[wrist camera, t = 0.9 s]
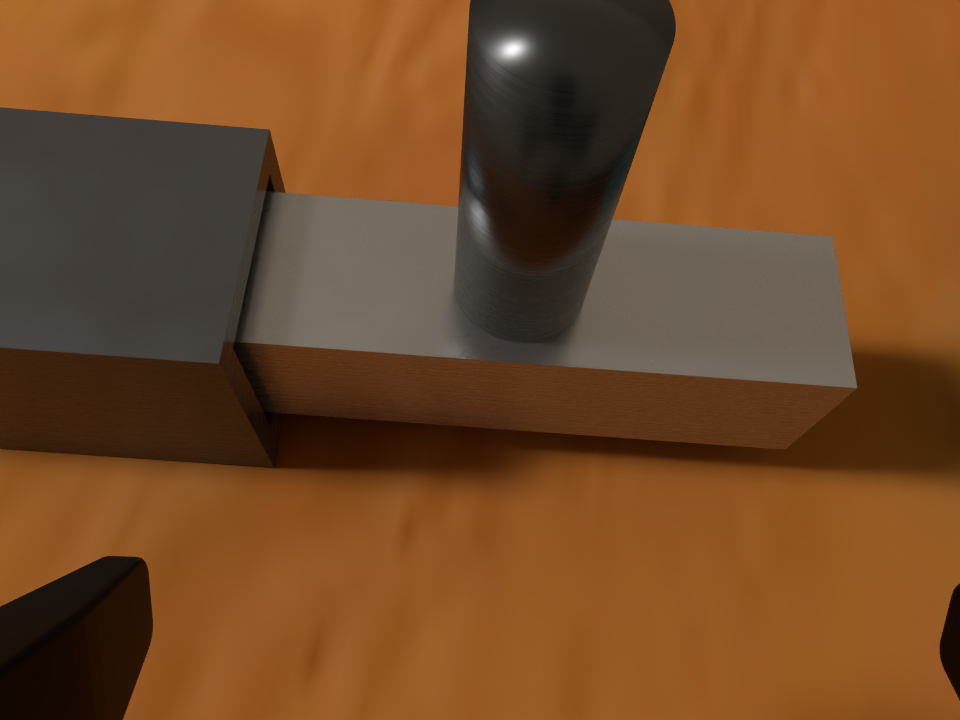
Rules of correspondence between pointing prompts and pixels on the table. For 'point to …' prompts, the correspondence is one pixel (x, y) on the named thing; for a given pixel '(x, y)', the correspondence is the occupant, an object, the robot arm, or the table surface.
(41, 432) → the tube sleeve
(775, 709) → the table surface
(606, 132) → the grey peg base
